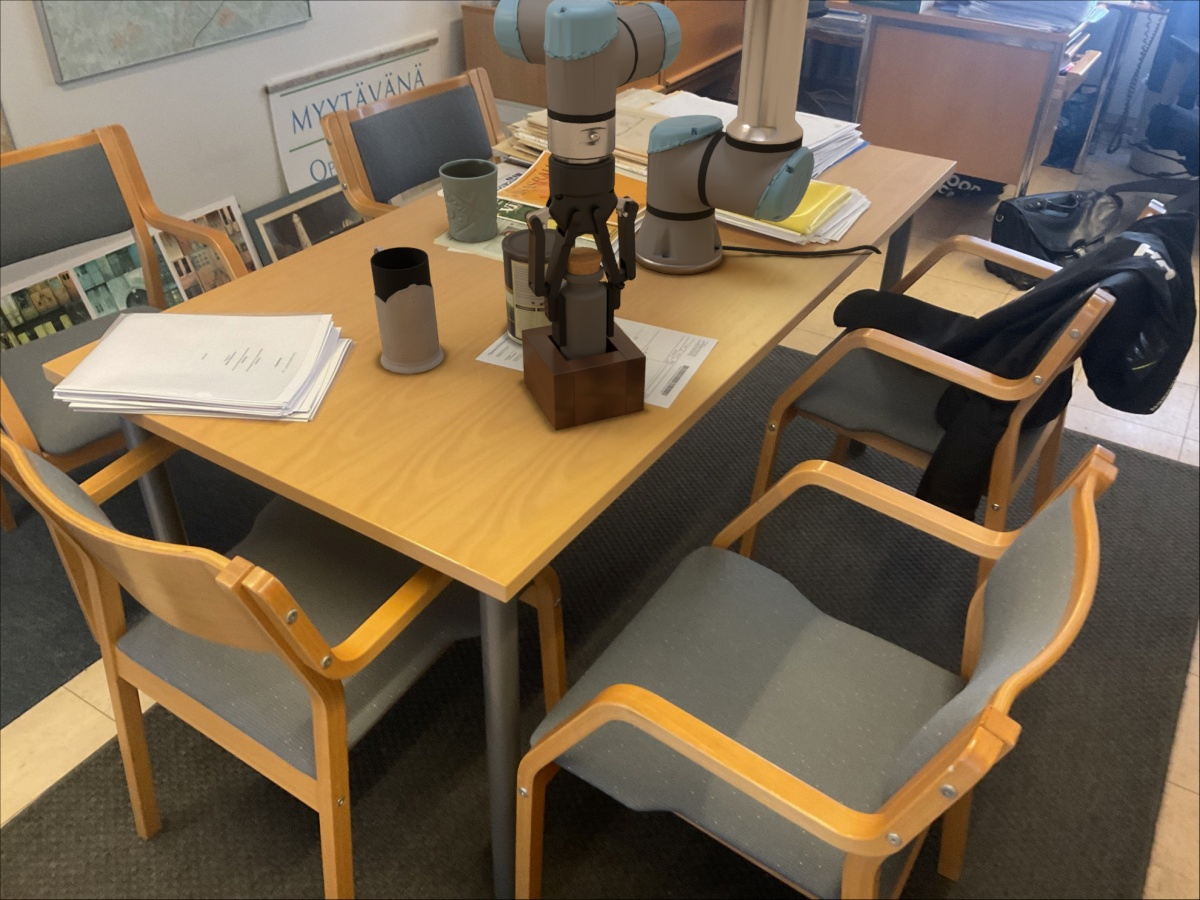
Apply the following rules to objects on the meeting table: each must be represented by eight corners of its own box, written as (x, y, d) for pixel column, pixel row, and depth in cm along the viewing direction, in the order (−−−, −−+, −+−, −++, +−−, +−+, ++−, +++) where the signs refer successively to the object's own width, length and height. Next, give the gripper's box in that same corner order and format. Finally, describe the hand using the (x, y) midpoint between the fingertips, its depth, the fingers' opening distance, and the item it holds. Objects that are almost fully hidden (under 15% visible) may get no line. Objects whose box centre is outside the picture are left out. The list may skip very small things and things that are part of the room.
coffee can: (492, 330, 133) (486, 240, 125) (544, 309, 139) (541, 221, 131) (538, 355, 127) (535, 262, 119) (590, 331, 133) (590, 241, 125)
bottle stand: (607, 365, 125) (607, 314, 120) (643, 410, 116) (646, 356, 111) (524, 382, 121) (521, 330, 117) (555, 430, 112) (553, 374, 108)
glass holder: (394, 380, 122) (379, 277, 113) (358, 337, 131) (341, 239, 123) (453, 363, 125) (443, 262, 117) (414, 322, 135) (402, 227, 126)
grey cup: (506, 224, 167) (502, 160, 160) (494, 245, 159) (490, 179, 152) (453, 221, 168) (447, 157, 161) (438, 242, 160) (432, 176, 153)
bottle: (570, 378, 113) (569, 267, 104) (554, 357, 117) (551, 249, 108) (613, 369, 115) (615, 259, 106) (595, 348, 119) (595, 241, 110)
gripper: (511, 174, 94) (521, 365, 108) (672, 153, 100) (663, 336, 114) (490, 153, 100) (502, 337, 114) (644, 134, 106) (638, 311, 119)
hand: (583, 336), depth 114 cm, fingers closed on bottle, 6 cm apart
